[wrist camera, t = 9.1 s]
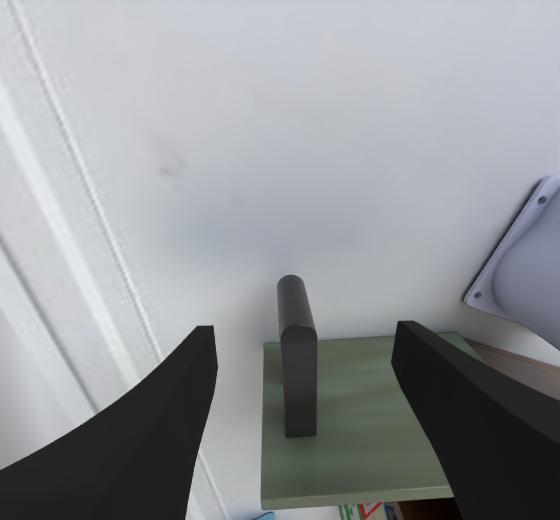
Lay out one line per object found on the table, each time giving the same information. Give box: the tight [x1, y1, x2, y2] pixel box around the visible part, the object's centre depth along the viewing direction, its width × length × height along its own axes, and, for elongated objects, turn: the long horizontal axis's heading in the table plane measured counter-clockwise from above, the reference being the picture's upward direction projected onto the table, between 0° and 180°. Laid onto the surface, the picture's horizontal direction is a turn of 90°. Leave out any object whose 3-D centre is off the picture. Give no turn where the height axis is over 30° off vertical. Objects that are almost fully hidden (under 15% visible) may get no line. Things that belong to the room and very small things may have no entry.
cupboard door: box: [261, 275, 489, 511], centre depth 16 cm, size 8×15×10 cm, turn 92°
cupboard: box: [392, 338, 560, 520], centre depth 21 cm, size 10×15×11 cm
